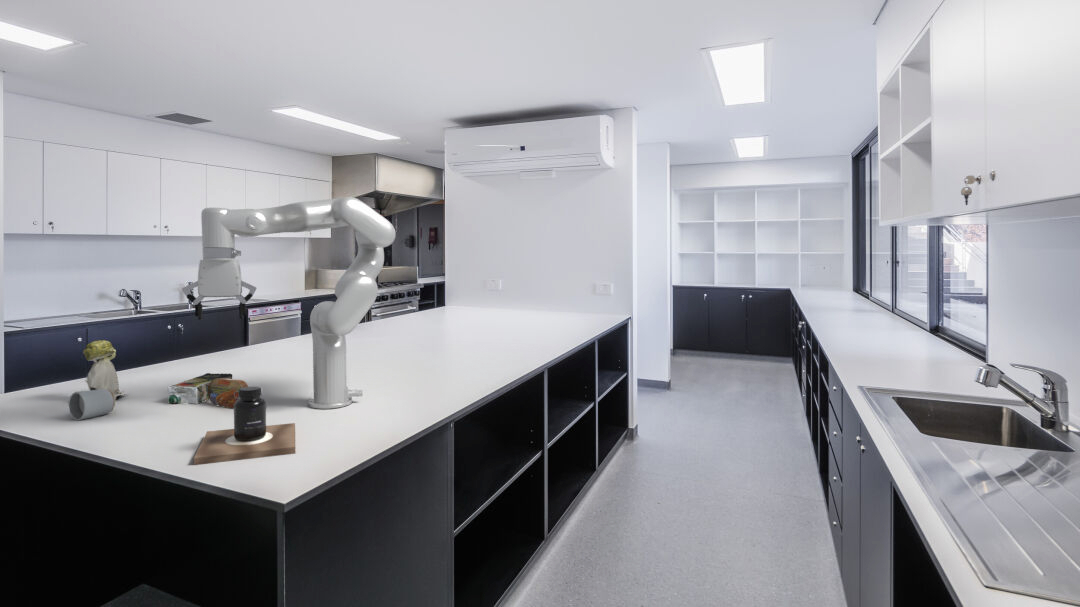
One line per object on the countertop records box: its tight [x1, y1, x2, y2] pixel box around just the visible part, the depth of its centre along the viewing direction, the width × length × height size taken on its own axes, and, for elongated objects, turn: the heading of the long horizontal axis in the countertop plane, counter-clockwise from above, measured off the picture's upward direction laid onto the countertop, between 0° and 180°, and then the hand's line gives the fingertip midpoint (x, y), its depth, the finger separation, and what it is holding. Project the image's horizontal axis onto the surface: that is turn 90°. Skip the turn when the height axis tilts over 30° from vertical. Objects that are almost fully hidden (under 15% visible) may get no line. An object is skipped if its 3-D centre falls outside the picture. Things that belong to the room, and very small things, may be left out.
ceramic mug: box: [68, 389, 116, 421], centre depth 155 cm, size 11×8×8 cm
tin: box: [208, 378, 250, 409], centre depth 167 cm, size 15×3×8 cm, turn 68°
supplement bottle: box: [233, 386, 267, 442], centre depth 133 cm, size 7×7×12 cm
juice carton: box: [167, 372, 233, 404], centre depth 178 cm, size 10×20×6 cm, turn 179°
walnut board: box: [193, 422, 296, 466], centre depth 133 cm, size 20×20×2 cm
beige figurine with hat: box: [82, 339, 127, 400], centre depth 172 cm, size 12×13×18 cm
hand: (221, 318), depth 150 cm, fingers open, 9 cm apart
